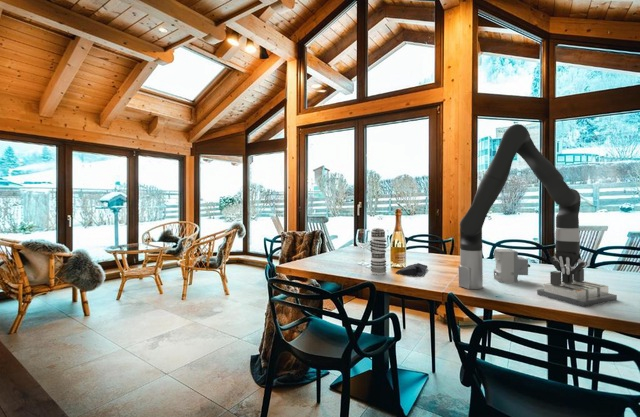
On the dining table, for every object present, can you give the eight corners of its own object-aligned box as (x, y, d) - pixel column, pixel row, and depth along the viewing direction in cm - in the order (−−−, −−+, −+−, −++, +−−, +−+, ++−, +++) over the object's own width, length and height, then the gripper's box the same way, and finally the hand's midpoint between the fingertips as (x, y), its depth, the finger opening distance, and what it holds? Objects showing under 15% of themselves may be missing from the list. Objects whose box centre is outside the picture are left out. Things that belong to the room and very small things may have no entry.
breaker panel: (583, 307, 115) (583, 279, 114) (537, 294, 131) (537, 270, 130) (616, 300, 122) (616, 273, 121) (569, 288, 138) (568, 265, 137)
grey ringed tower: (390, 273, 174) (389, 228, 174) (378, 275, 169) (377, 229, 168) (378, 270, 182) (378, 227, 181) (366, 272, 176) (366, 228, 176)
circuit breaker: (532, 283, 148) (531, 251, 148) (499, 282, 151) (498, 251, 151) (525, 279, 155) (524, 249, 155) (493, 278, 158) (493, 248, 158)
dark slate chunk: (432, 270, 182) (432, 262, 182) (422, 278, 163) (421, 269, 163) (406, 267, 190) (406, 259, 190) (393, 275, 172) (393, 266, 172)
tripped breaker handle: (556, 285, 125) (556, 272, 125) (550, 283, 127) (550, 271, 127) (561, 284, 126) (561, 272, 126) (555, 283, 128) (555, 271, 128)
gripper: (543, 238, 127) (544, 280, 127) (580, 241, 115) (580, 288, 115) (555, 237, 130) (556, 278, 130) (593, 240, 117) (593, 286, 118)
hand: (567, 283), depth 122 cm, fingers closed
